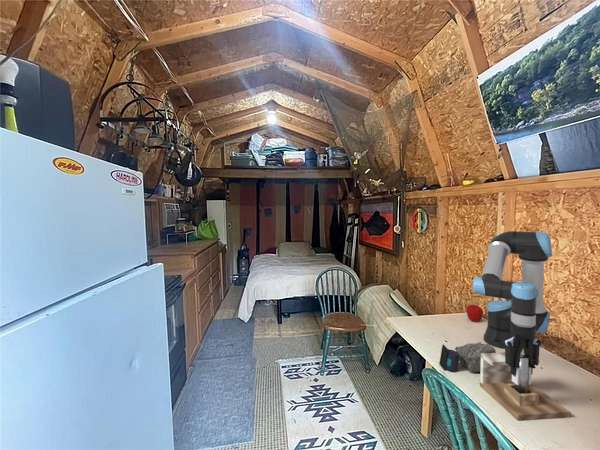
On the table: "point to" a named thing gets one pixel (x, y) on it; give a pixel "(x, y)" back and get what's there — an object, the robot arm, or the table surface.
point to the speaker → (449, 359)
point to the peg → (523, 375)
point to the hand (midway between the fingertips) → (521, 382)
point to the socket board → (503, 391)
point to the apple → (474, 313)
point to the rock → (473, 355)
